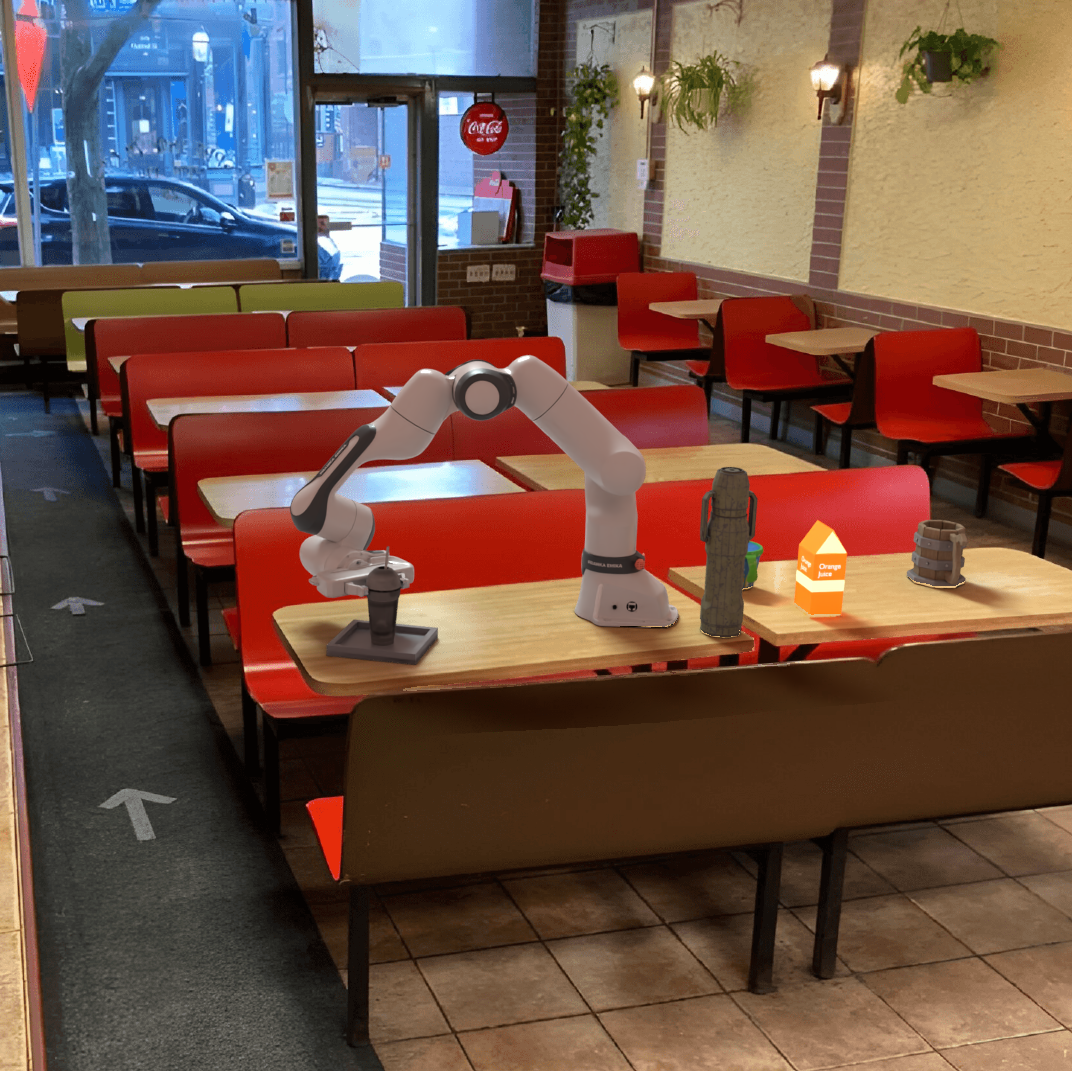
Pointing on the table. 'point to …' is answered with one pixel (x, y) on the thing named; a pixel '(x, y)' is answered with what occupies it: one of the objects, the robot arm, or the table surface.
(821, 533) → the orange juice
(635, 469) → the robot arm
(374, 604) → the beverage cup
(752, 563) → the snack cup
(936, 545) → the tankard
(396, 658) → the tray
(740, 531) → the thermos
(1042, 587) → the table surface
